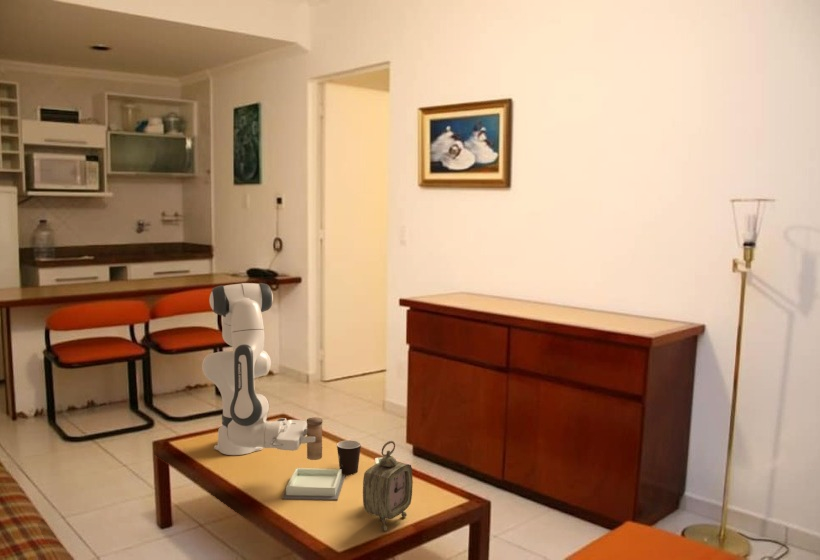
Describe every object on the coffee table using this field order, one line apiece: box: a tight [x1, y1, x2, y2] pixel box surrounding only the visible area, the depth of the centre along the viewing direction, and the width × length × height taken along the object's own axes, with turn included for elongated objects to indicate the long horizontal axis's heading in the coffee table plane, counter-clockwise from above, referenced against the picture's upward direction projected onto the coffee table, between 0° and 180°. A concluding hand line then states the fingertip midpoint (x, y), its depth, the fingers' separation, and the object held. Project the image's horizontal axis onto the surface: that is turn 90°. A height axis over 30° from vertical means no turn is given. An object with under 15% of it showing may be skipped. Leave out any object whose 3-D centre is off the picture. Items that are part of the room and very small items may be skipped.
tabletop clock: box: [362, 440, 414, 532], centre depth 202 cm, size 14×9×25 cm, turn 148°
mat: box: [281, 474, 346, 501], centre depth 228 cm, size 20×18×1 cm
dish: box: [285, 467, 343, 496], centre depth 228 cm, size 16×16×3 cm
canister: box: [306, 416, 323, 461], centre depth 226 cm, size 5×5×13 cm
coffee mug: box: [336, 439, 362, 476], centre depth 243 cm, size 12×9×10 cm
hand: (317, 435), depth 226 cm, fingers closed on canister, 5 cm apart
